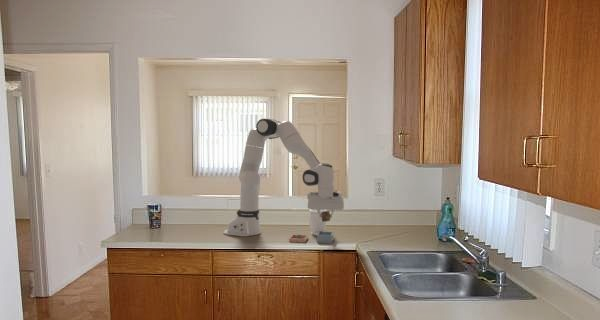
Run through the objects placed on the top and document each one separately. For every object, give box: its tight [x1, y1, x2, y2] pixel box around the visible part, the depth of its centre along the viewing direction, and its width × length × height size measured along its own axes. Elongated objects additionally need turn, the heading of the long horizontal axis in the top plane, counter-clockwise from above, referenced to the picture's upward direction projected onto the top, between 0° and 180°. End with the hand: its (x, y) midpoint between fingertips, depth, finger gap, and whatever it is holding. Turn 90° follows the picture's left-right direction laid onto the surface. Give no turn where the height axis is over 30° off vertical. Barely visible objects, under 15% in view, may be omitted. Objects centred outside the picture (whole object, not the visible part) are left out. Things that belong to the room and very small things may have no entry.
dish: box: [288, 234, 309, 243], centre depth 238 cm, size 9×9×2 cm
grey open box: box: [316, 231, 334, 244], centre depth 236 cm, size 8×8×5 cm
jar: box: [308, 209, 327, 236], centre depth 254 cm, size 11×10×15 cm
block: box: [321, 210, 331, 222], centre depth 235 cm, size 4×4×5 cm
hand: (325, 217), depth 235 cm, fingers closed on block, 4 cm apart
